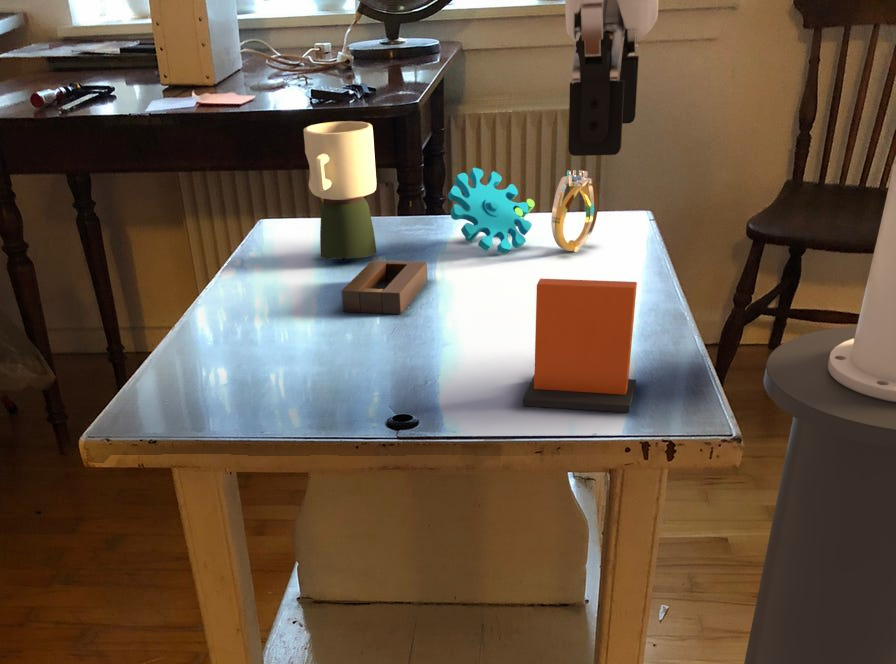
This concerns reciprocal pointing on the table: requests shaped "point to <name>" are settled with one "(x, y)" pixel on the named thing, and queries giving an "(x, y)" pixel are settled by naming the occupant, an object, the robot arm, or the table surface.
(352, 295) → the frame
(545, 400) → the mat
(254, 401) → the table surface
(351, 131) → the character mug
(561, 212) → the ring
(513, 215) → the gear
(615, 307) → the orange rectangular board
